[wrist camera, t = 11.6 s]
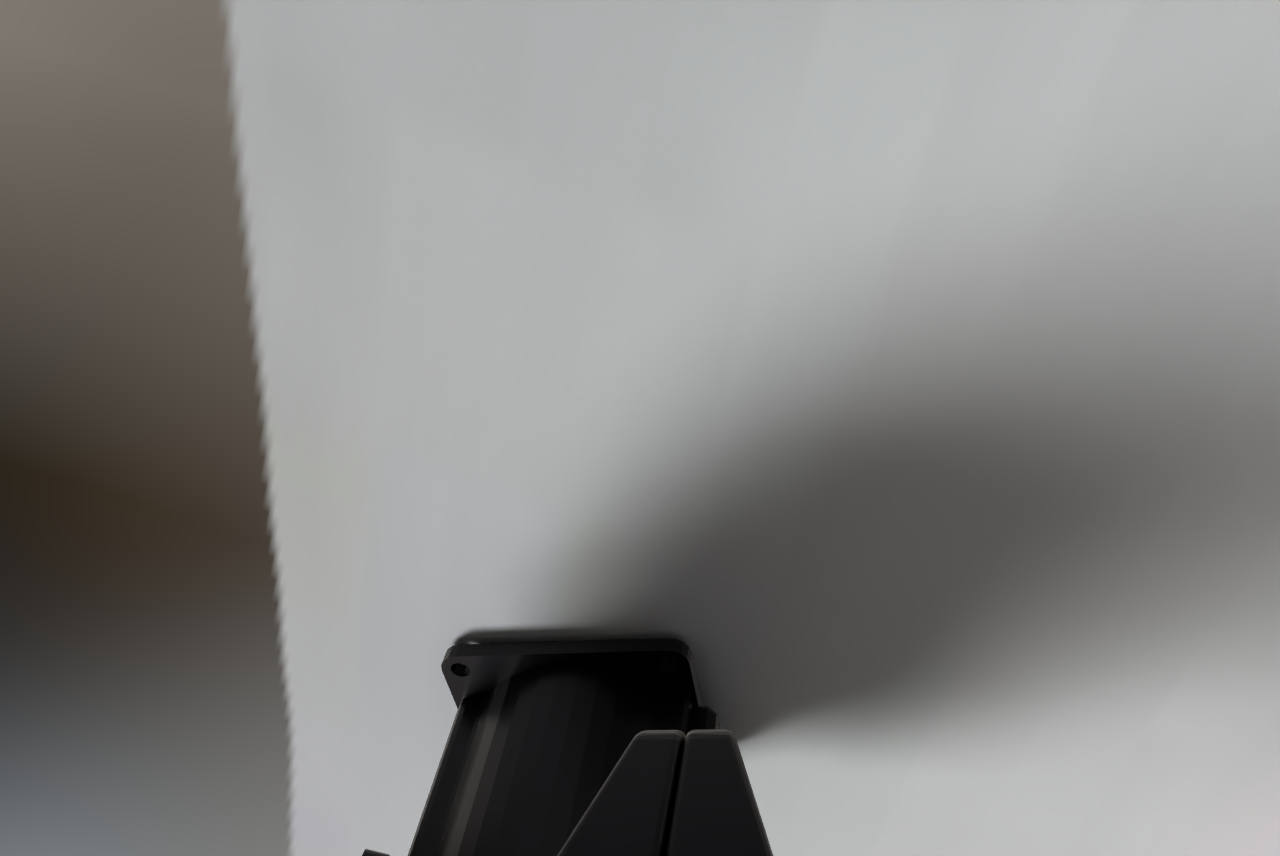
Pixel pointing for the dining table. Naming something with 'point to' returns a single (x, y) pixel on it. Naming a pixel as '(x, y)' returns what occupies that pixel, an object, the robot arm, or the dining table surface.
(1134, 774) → the dining table surface
